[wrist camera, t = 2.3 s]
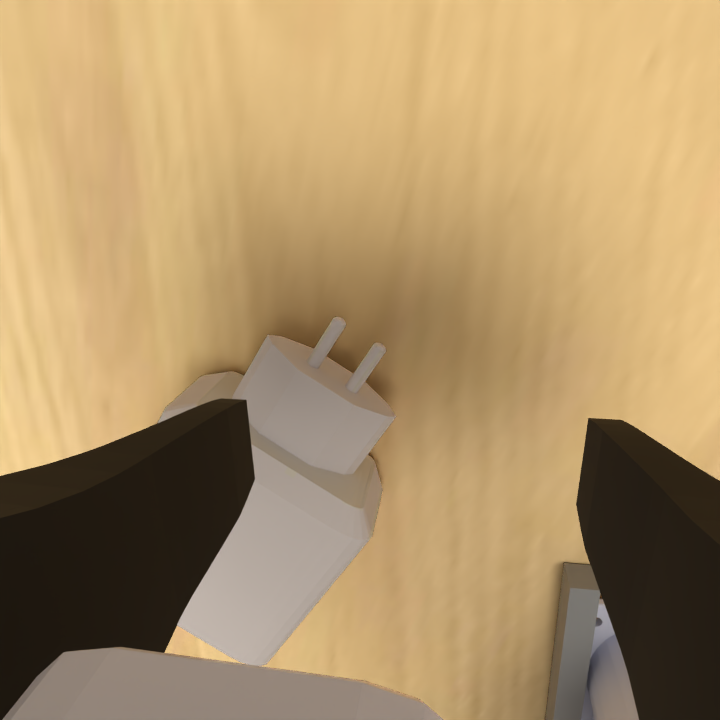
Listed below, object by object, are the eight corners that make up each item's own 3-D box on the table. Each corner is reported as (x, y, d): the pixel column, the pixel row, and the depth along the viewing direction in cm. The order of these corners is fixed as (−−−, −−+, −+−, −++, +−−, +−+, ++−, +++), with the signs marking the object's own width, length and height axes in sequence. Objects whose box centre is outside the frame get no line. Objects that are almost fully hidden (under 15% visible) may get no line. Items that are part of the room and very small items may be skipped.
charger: (467, 374, 22) (293, 594, 28) (273, 249, 22) (138, 500, 27) (469, 431, 18) (263, 677, 24) (226, 275, 17) (77, 567, 23)
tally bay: (563, 766, 29) (568, 797, 27) (107, 699, 33) (92, 723, 32) (592, 565, 24) (600, 590, 23) (56, 519, 28) (36, 537, 27)
